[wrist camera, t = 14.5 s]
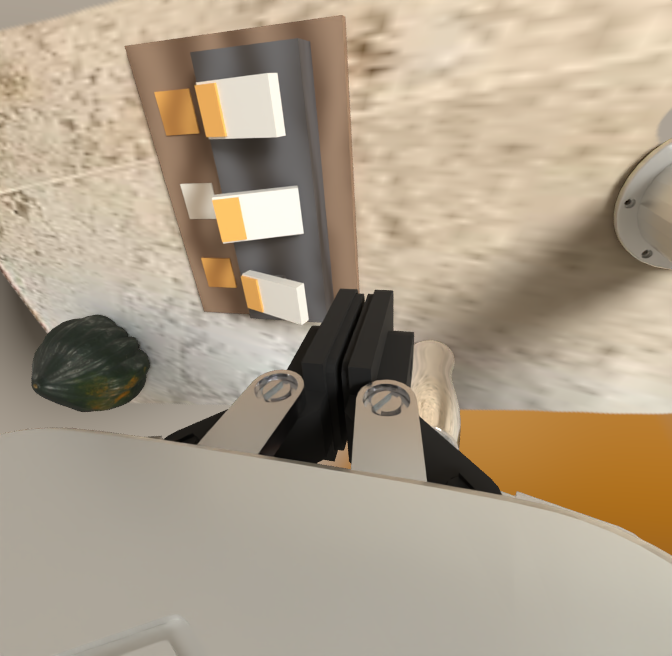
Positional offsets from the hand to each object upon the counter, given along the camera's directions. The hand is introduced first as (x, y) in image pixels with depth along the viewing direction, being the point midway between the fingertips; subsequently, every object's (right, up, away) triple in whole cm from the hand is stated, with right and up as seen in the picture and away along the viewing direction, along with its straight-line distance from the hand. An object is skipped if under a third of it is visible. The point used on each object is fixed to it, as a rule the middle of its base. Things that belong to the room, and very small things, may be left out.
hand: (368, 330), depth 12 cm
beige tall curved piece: (+11, -4, +38) cm, 39 cm away
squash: (-37, -2, +51) cm, 63 cm away
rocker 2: (-8, +11, +25) cm, 28 cm away
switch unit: (-10, +15, +31) cm, 36 cm away
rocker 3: (-8, +4, +30) cm, 31 cm away
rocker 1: (-9, +19, +20) cm, 29 cm away
